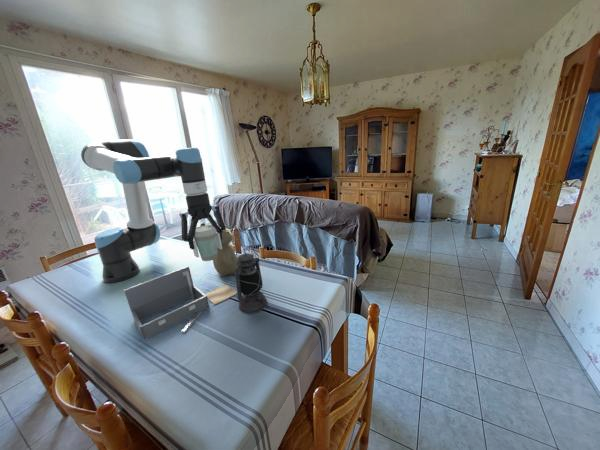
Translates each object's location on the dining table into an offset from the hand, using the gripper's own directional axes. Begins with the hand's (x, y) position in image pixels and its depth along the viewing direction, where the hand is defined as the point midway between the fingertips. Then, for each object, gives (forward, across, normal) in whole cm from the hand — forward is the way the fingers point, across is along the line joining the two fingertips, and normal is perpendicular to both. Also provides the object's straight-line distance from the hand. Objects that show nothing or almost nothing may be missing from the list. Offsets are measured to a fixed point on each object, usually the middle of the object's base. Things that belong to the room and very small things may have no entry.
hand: (208, 252), depth 94 cm
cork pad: (+20, +1, 0) cm, 20 cm away
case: (+20, -17, +2) cm, 26 cm away
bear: (+20, +15, +14) cm, 29 cm away
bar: (+20, -14, -8) cm, 25 cm away
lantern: (+20, +7, -16) cm, 26 cm away
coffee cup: (+3, 0, 0) cm, 3 cm away
